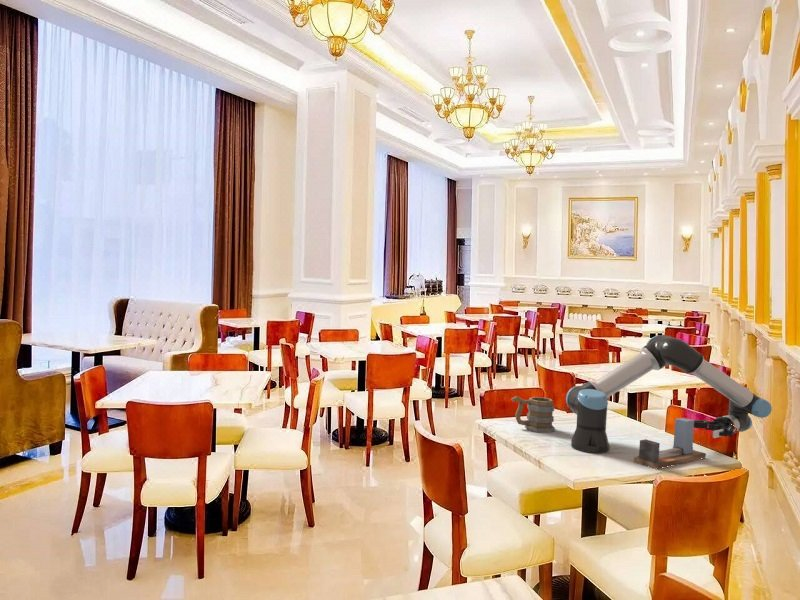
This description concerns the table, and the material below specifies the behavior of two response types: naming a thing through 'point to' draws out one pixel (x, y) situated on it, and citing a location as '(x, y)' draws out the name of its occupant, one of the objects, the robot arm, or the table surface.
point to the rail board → (678, 460)
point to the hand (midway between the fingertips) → (697, 430)
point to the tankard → (536, 414)
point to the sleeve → (684, 435)
